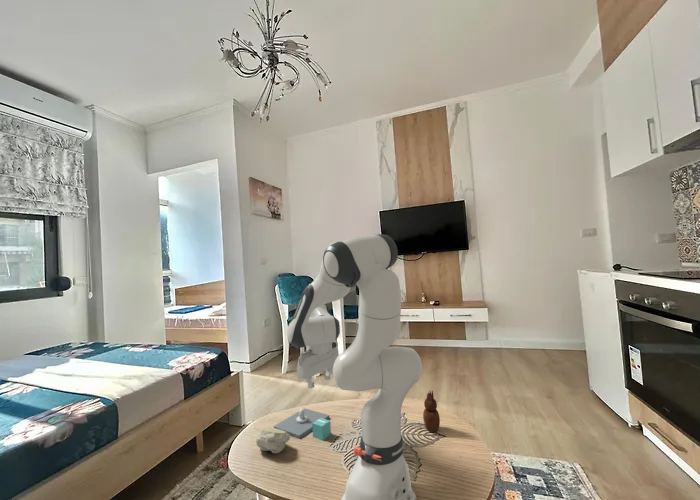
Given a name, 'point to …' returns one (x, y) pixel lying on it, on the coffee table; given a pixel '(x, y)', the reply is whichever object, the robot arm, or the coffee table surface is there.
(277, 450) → the fossil replica
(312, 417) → the toggle switch board
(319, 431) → the teal slotted cube
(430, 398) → the wooden figurine
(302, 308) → the robot arm
